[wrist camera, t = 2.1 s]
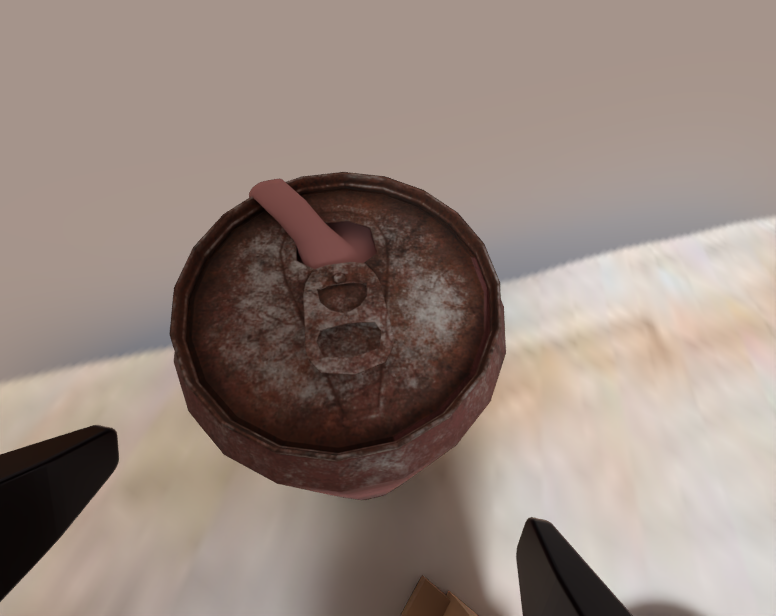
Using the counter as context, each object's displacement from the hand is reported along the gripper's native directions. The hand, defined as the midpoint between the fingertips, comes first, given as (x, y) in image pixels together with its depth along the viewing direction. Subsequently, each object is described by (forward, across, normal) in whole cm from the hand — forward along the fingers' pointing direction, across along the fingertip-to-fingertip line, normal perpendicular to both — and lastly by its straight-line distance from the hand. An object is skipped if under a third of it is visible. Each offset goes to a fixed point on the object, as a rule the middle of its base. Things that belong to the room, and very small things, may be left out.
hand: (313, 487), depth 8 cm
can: (+10, 0, +5) cm, 11 cm away
